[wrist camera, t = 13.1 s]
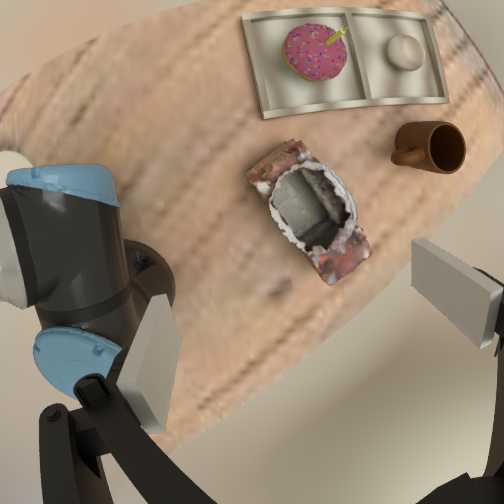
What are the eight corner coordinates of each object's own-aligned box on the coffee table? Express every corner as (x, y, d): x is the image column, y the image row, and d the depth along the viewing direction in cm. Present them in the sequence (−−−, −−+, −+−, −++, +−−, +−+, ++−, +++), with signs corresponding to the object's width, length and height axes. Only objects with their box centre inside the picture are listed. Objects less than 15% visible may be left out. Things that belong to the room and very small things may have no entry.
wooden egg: (385, 74, 40) (404, 67, 34) (376, 39, 38) (394, 28, 32) (416, 74, 40) (436, 69, 34) (407, 40, 38) (427, 32, 32)
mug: (378, 180, 46) (408, 190, 38) (365, 133, 44) (394, 133, 35) (435, 161, 46) (470, 168, 37) (425, 117, 43) (460, 116, 34)
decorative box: (317, 121, 43) (339, 117, 34) (373, 235, 49) (402, 255, 40) (238, 166, 44) (241, 171, 35) (304, 276, 51) (320, 305, 42)
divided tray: (262, 120, 42) (264, 118, 40) (240, 20, 37) (241, 14, 35) (441, 103, 42) (450, 103, 40) (421, 18, 37) (428, 14, 35)
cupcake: (311, 24, 37) (336, -8, 26) (347, 68, 40) (383, 49, 28) (265, 53, 38) (278, 24, 27) (303, 98, 41) (328, 84, 30)
